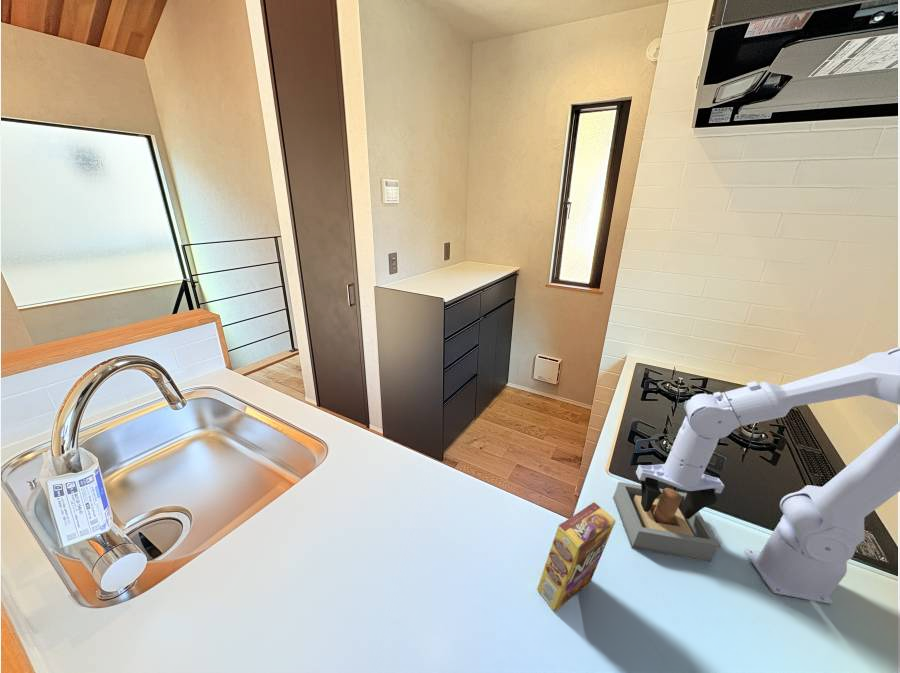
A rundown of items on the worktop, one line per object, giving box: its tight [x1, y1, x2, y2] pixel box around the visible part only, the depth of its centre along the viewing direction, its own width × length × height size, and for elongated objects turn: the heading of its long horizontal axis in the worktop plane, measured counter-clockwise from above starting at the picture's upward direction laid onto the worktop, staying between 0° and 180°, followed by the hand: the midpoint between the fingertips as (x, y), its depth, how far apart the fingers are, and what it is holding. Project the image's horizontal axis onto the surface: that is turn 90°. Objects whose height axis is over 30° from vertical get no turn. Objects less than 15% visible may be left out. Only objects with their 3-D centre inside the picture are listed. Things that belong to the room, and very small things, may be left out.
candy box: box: [536, 501, 616, 613], centre depth 55 cm, size 9×4×15 cm, turn 124°
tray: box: [612, 481, 721, 563], centre depth 70 cm, size 14×12×4 cm
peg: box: [652, 487, 682, 525], centre depth 69 cm, size 3×3×8 cm
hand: (664, 511), depth 69 cm, fingers open, 7 cm apart
